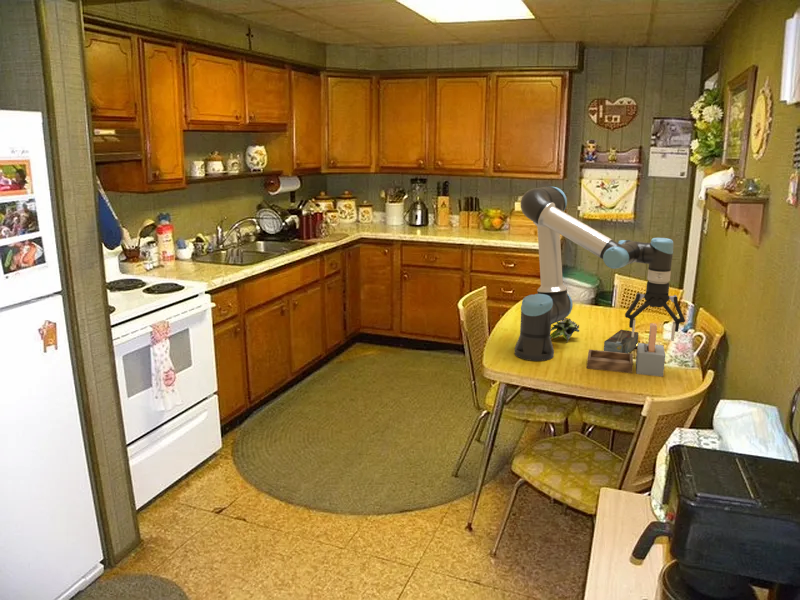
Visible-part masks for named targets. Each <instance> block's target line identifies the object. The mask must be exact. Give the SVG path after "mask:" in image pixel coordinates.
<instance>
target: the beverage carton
mask: <svg viewBox="0 0 800 600" xmlns="http://www.w3.org/2000/svg"><path fill="white" fill-rule="evenodd" d="M603 343H604V344H603V351H609V352H619V353H629V354H630V353H631V352H632V351H633V350H634V349H635V348H636V344H637V343H639V332H638V331H634V337H632V330H627V329H620V330H619V331H617V332H615V333H614V334H613V335H612V336H610V337H609V338H607V339H606V340H604V342H603Z"/></svg>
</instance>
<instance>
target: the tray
mask: <svg viewBox="0 0 800 600" xmlns="http://www.w3.org/2000/svg"><path fill="white" fill-rule="evenodd" d="M587 352H588V354H587V361H586V369H590V370H598V371H608V372H616V373H617V372H619V373H625V374H627V373H628V374H633V369H634V360H633V359H634V358H633V357H634V356H633V353H630V352H629V353H619V352H609V351H604V350H600V349H599V350H598V349H588V351H587Z"/></svg>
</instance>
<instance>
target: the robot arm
mask: <svg viewBox="0 0 800 600" xmlns="http://www.w3.org/2000/svg"><path fill="white" fill-rule="evenodd" d="M567 205H568V199H567V196H566V194H565V193H564V191H563V190H562V189H561V188H559V187H555V186H542V187H535V188H530V189H529V190H527V191H526V192H525V193H524V194H523V195H522V197H521V199H520V209H521V212H522V214H523V215H524V216H525V217H526V218H527V219H528V220H530V221H532V223H533V224H534V225H535V226H536V227H537V240H538V241H537V242H538V243H537V245H538V258H539V259H538V261H539V274H540V276H539V277H540V286H539V287H538V288H537V293H535V294H529V295H527V296H524V297H523V299H522V300H521V305H520V306H521V307H520V328H519V329H520V333H519V337H518V340H517V341H516V343H515V347H514V355H515V356H516V357H518V358H519V359H522V360H525V361H533V362H542V361H543V362H544V361H547V360H549V361H550V360H551V359H553V358H554V355H555V354H554V353H555V351H554V345H553V342H552V338H550V335H551V332H552V331H551V329H552V325H554V324H557V322H560V321H562V320H563V319H565V318H567V317H568V316H569V315H570V314H571V312H572V310H573V304H574V303H573V299H572V297H571V296H570V295H569V293H568V289H567V287H566V285H565V284H564V282H563V267H562V266H563V264H562V249H561V248H562V247H561V236H563V238H564V237H565V238H566V239H568V240H569V241H571V242H573V243H574V244H576V245H577V246H579V247H581V248H583V249H584V250H586V251H587V252H590V253H591V254H593V255H595V256H597V257H598V258H600V259H601V260H603V262H604V264H605V266H606V267H608V268H610V269H615V270H616V269H621V268H624V267H625V266H628V265H630V264H634V263H637V264H638V263H639V264H646V265H647V264H648V268H647V269H648V270H647V282H646V290H645V293H640V292H637V293H636V295H635V298H634V300H633V302H632V303H631V304H630V306H629V307H628V309H627V310H626V312H625V313H624V317H625V318H628V319H629V324H628V325H629V329H631V331H632V337H634V332H636V331H635V329H636V321H637V320H636V318H637V316H639V315H640V314H641V313H642V312H643V311H644V310H645V309H647V308H648V307H651V308H660V309H661V308H662V307H663V308H664V309H665V310H666V312H667V313H668V315H669V316H670V318H671V319H672V320H673V321H672V326H671V327H672V328H671V334H670V335H671V336H670V341H671V342H675V334H676V333H678V332H679V328H680V323H685V322H686V319H685V316H684V314H683V312H682V309H681V307H680V305H679V303H678V295H676V294H674V295H669V294H670V293H669V291H670V281H671V273H672V263H673V256H674V241H673V239H671V238H666V237H653V238H652V239H651V240H650V242H645V241H644V242H643V241H636V240H634V241H633V240H631V239H628V240H625V239H622V240H621V239H620V240H618V242H617V241H615V240H613V239H612V238H610V237H608V236H607V235H605V234H603V233H601V232H600V231H598V230H596V229H594V228H592V227H591V226H589V225H587V224H585V223H584V222H582V221H580V220H579V219H577V218H575V217H574V216H572V215H570V214H568V213H566V212H565V210H566V209H567ZM643 298H644V300H645V301H644V302H643V304H641V305H640V306H639V307H638V308H637V309H636V310H635V311H634V309H635V308H636V306H637V305H638V303H639V302H640V301H642V299H643ZM669 301H671V302H672V303H673V305H674V308H675V309H676V312H677V314H678V316H677V315H676V314H675V313H674V312H673V310H672V309H671V307H670V306H669V305H668V303H667V302H669ZM632 312H633V313H632ZM678 317H679V318H678ZM563 321H564V320H563Z"/></svg>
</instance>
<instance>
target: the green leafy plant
mask: <svg viewBox="0 0 800 600" xmlns="http://www.w3.org/2000/svg"><path fill="white" fill-rule="evenodd" d="M551 332H552V333H551ZM551 332H550V338H551V339H553V340H554V339H557V338H558V337H560V336H562V337H563V338H564V339H565V341H566V343H568V342H569V340H570V337H572V335H573V333H574V332H577V333H579V332H580V324H577V323H576V322H575V321H573V320H572V319H571V318H567V317H566V318H565V319H563V320H561V321H558V322H556V323H555V324H552V326H551Z"/></svg>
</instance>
